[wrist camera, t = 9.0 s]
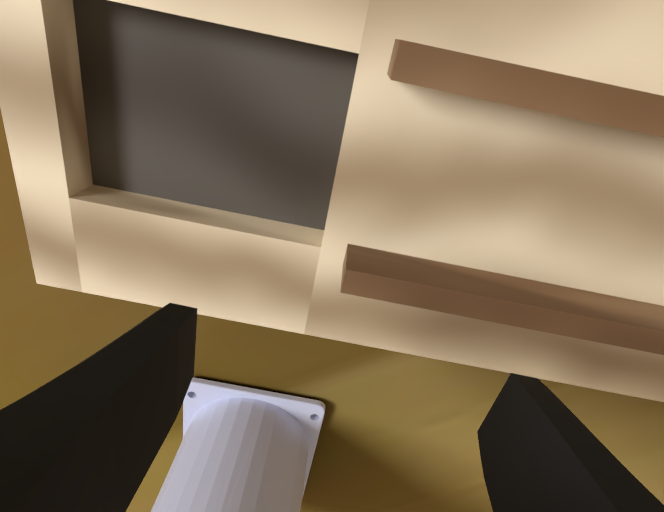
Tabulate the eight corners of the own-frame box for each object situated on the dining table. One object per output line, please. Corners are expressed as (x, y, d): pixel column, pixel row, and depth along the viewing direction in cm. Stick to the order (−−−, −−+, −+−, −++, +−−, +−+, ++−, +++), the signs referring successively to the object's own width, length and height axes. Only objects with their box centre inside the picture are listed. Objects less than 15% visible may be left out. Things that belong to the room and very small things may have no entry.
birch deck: (769, 395, 21) (806, 429, 19) (65, 261, 20) (36, 283, 18) (1120, 52, 13) (1239, 55, 11) (-8, -203, 12) (-72, -244, 10)
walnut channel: (649, 324, 17) (683, 358, 15) (342, 265, 16) (340, 292, 15) (795, 124, 13) (864, 138, 11) (395, 39, 12) (400, 39, 11)
